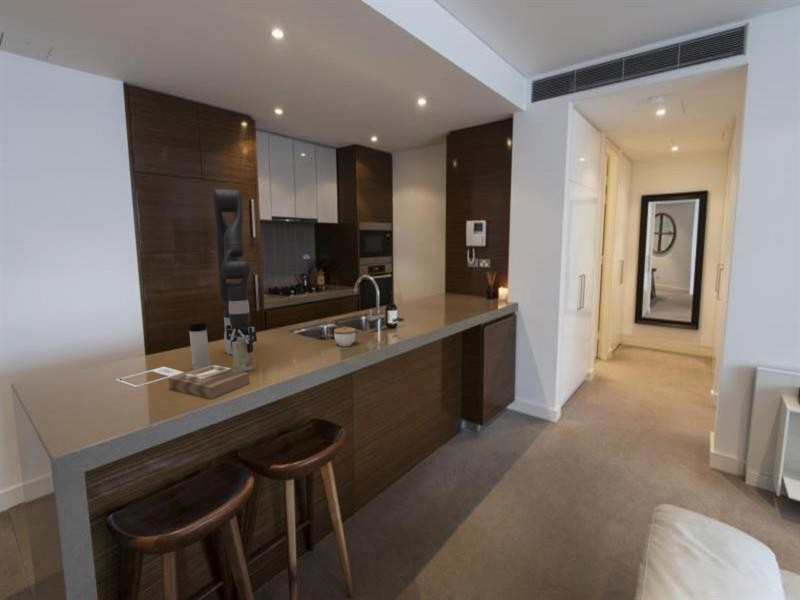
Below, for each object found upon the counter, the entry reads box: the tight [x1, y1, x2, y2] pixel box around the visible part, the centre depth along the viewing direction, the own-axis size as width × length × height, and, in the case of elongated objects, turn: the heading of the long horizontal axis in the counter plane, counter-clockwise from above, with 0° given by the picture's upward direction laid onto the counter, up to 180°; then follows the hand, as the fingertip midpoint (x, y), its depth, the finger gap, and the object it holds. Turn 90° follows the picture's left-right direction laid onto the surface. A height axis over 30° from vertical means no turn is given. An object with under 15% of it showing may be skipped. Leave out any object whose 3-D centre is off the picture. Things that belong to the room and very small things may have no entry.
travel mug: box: [188, 322, 211, 370], centre depth 162 cm, size 6×7×20 cm
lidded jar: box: [333, 325, 357, 347], centre depth 199 cm, size 11×11×9 cm
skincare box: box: [232, 339, 254, 372], centre depth 162 cm, size 6×4×12 cm
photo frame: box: [115, 366, 185, 389], centre depth 156 cm, size 15×1×18 cm
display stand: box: [167, 364, 250, 400], centre depth 145 cm, size 22×16×6 cm
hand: (242, 351), depth 161 cm, fingers open, 8 cm apart
